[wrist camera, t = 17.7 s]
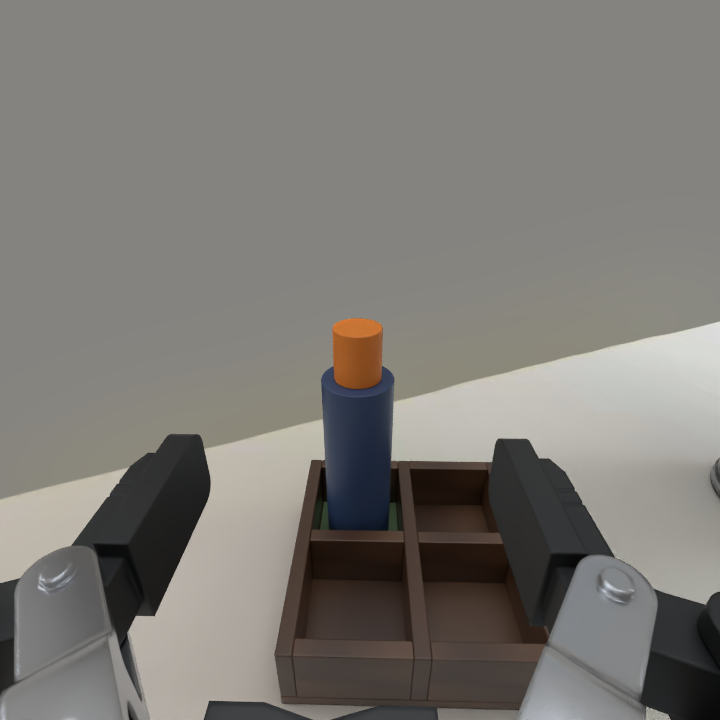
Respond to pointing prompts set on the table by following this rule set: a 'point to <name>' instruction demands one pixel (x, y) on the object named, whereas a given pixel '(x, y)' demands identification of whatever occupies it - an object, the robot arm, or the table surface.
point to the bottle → (358, 428)
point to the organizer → (407, 600)
